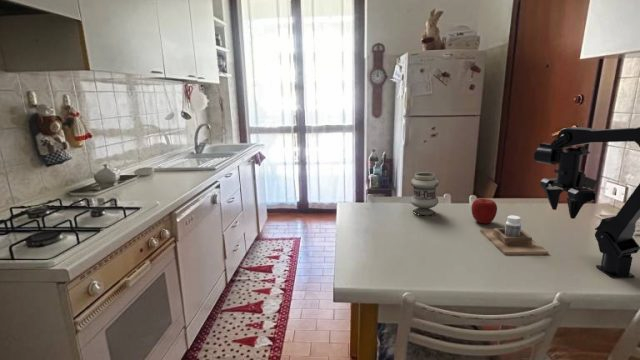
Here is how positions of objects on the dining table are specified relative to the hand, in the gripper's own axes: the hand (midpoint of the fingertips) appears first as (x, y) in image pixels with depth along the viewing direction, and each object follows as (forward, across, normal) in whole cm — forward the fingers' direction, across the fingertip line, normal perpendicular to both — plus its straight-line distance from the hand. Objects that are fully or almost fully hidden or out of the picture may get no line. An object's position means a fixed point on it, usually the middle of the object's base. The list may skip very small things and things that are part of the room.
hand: (563, 213), depth 114 cm
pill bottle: (+12, +7, +12) cm, 18 cm away
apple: (+12, +27, +14) cm, 33 cm away
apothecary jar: (+12, +40, +34) cm, 54 cm away
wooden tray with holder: (+12, +7, +12) cm, 19 cm away
